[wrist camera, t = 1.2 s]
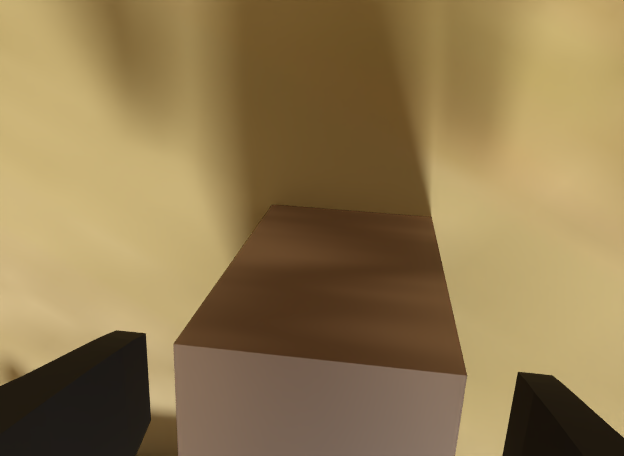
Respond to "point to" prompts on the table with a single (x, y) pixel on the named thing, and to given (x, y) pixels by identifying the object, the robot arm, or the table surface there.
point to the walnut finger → (324, 343)
